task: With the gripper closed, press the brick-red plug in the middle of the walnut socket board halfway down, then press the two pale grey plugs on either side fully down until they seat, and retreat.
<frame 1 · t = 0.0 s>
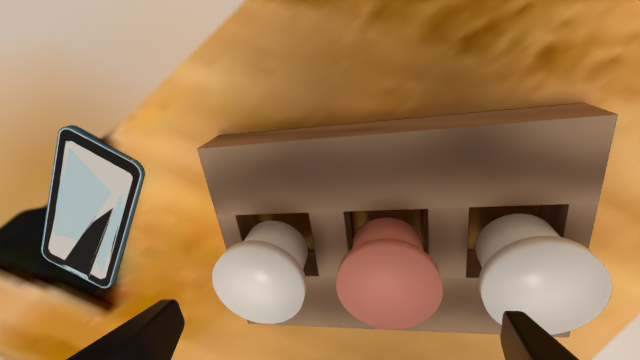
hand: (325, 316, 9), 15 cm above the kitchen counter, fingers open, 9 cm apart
socket board: (386, 221, 24), on the kitchen counter
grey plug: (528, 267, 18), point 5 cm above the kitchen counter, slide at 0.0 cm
smartphone: (96, 210, 29), on the kitchen counter
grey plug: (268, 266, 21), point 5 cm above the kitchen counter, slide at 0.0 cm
red plug: (387, 266, 19), point 5 cm above the kitchen counter, slide at 0.0 cm
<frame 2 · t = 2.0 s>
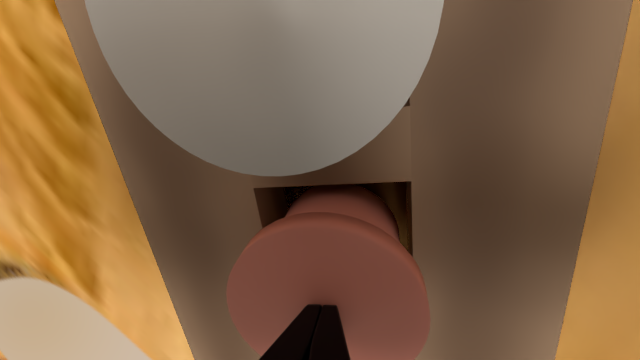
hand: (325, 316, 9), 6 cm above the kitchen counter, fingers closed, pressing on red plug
socket board: (345, 210, 14), on the kitchen counter
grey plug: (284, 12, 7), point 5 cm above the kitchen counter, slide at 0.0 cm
red plug: (333, 268, 11), point 4 cm above the kitchen counter, slide at -1.3 cm, touching gripper
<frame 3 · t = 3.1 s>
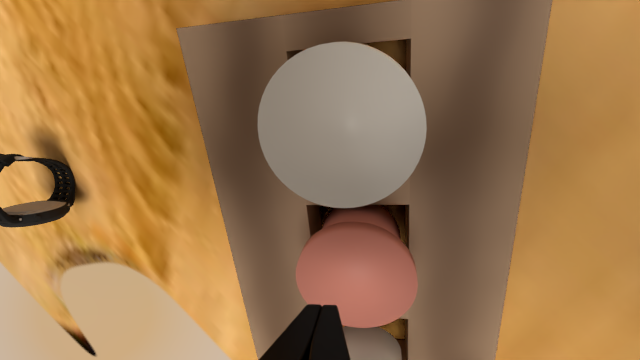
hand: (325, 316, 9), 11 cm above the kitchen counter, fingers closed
socket board: (362, 219, 20), on the kitchen counter
smartwatch: (69, 173, 23), on the kitchen counter
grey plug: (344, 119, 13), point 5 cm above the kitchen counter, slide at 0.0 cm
red plug: (357, 256, 17), point 4 cm above the kitchen counter, slide at -1.4 cm
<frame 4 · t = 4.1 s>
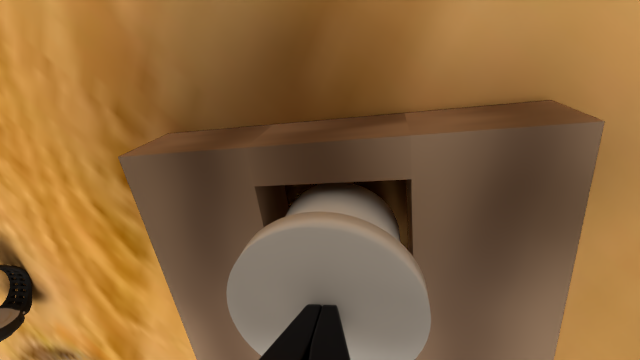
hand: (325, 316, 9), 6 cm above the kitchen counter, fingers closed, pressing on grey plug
socket board: (359, 333, 17), on the kitchen counter
smartwatch: (26, 272, 20), on the kitchen counter
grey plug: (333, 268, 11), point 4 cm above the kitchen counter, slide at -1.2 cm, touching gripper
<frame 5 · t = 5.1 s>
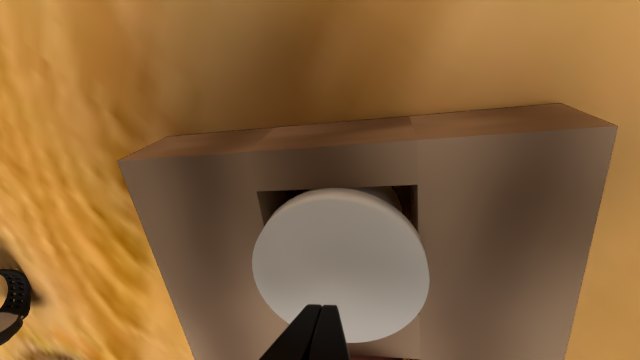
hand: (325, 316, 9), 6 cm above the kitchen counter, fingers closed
socket board: (362, 339, 17), on the kitchen counter
smartwatch: (24, 276, 20), on the kitchen counter
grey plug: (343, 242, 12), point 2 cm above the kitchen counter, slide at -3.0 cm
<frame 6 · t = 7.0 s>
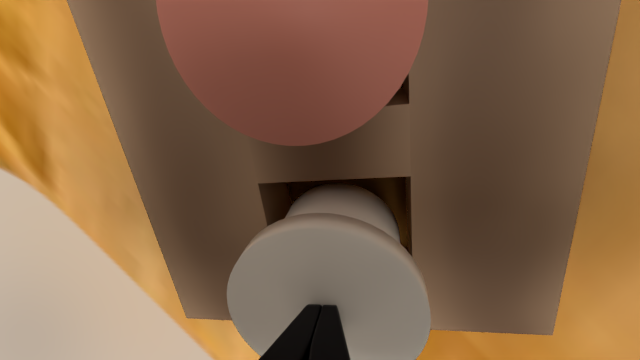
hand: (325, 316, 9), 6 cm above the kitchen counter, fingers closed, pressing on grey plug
socket board: (327, 22, 12), on the kitchen counter
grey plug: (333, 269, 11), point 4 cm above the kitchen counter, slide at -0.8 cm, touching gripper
red plug: (304, 17, 8), point 4 cm above the kitchen counter, slide at -1.4 cm
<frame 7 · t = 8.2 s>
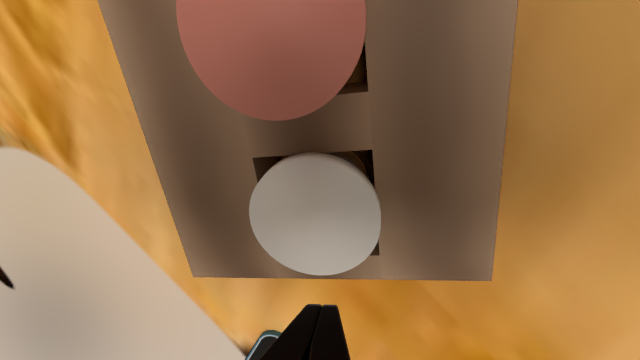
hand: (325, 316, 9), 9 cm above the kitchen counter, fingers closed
socket board: (307, 27, 15), on the kitchen counter
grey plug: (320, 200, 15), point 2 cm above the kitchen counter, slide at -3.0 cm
red plug: (285, 25, 11), point 4 cm above the kitchen counter, slide at -1.4 cm
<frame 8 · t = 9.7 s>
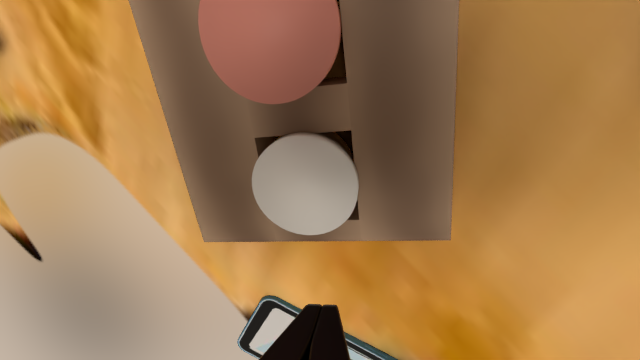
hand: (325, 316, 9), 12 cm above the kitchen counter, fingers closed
socket board: (300, 31, 18), on the kitchen counter
smartphone: (328, 352, 28), on the kitchen counter
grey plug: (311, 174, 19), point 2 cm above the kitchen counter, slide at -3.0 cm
red plug: (280, 31, 14), point 4 cm above the kitchen counter, slide at -1.4 cm
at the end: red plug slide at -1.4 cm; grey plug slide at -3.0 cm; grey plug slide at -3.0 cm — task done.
